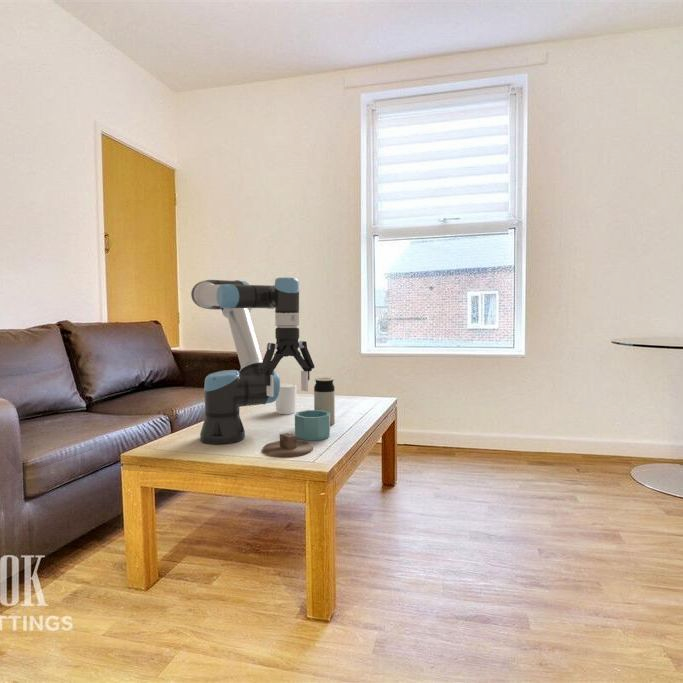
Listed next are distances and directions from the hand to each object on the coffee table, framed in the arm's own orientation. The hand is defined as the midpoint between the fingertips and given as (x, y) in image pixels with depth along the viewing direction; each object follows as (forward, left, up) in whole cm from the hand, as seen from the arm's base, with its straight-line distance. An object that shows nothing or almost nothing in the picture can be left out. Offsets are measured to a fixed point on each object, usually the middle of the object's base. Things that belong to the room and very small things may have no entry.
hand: (287, 393), depth 150 cm
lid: (0, 0, -19) cm, 19 cm away
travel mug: (-18, +31, -18) cm, 40 cm away
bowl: (-7, +16, -18) cm, 25 cm away
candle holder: (-45, +32, -18) cm, 58 cm away
